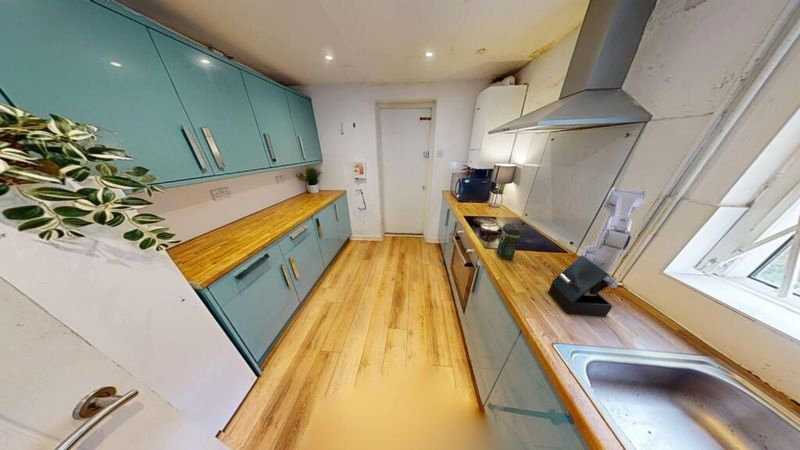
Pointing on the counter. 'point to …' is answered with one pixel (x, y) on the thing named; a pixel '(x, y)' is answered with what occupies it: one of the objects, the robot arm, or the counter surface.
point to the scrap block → (589, 294)
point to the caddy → (581, 303)
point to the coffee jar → (508, 241)
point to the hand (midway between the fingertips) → (587, 289)
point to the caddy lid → (579, 278)
